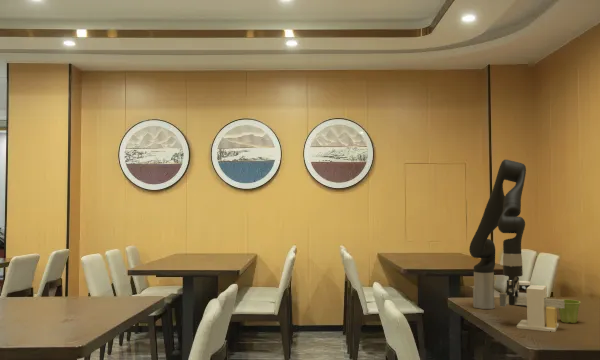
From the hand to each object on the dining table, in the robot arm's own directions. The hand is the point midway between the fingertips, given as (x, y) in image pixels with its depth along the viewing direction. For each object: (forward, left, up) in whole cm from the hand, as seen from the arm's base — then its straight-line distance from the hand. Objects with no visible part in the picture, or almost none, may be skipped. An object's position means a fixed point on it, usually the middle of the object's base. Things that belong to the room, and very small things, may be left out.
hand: (513, 303), depth 220 cm
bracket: (+9, 0, -9) cm, 12 cm away
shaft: (+7, 0, -1) cm, 7 cm away
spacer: (+14, 0, -4) cm, 15 cm away
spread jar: (-2, +49, -9) cm, 50 cm away
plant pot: (+19, +17, -9) cm, 27 cm away
